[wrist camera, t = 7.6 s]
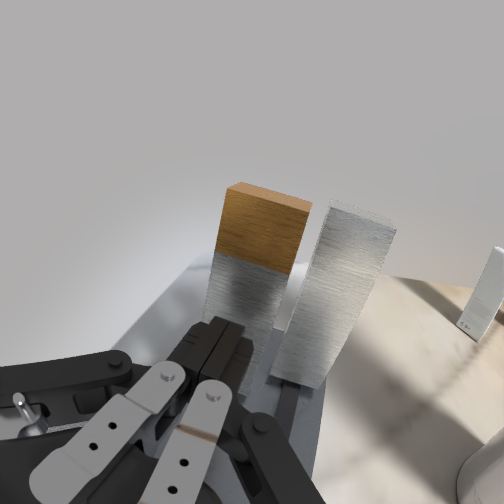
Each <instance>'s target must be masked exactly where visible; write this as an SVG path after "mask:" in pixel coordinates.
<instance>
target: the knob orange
mask: <svg viewBox="0 0 504 504" xmlns="http://www.w3.org/2000/svg"><path fill="white" fill-rule="evenodd" d="M311 205H312V202H308V201H305V200H302V199H299V198H296V197H292V196H289V195H285V194H282V193H279V192H275V191H271V190H268V189H265V188H261V187H257V186H254V185H251V184H247V183H243V182H240V183H237V184H235V185H233V186H231V187H229V188H227V191H226V196H225V201H224V206H223V211H222V216H221V221H220V226H219V231H218V236H217V242H216V247H215V252H214V257H213V263H212V268H211V274H210V279H209V285H208V291H207V296H206V302H205V308H204V314H203V320H202V322H204V323H206V324H209V323H210V322H211V320H212V319H213V317H214V316H215V315H216V316H219V317H221V318H224V319H227V320H229V321H230V322H231V321H232V322H235V323H238V324H240V325H243V326H246V330H245V333H244V338H247V339H249V340H252V341H253V345H254V352H253V355H252V358H251V361H250V364H249V367H248V369H247V372H246V374H245V377H244V379H243V381H242V384H241V386H240V388H239V391H238V393H240V394H242V395H245V396H247V395H248V392H249V389H250V387H251V384H252V382H253V379H254V376H255V374H256V371H257V368H258V366H259V363H260V360H261V357H262V355H263V352H264V349H265V346H266V344H267V341H268V338H269V335H270V332H271V329H272V327H273V324H274V321H275V318H276V315H277V312H278V309H279V306H280V303H281V300H282V297H283V294H284V291H285V288H286V285H287V282H288V279H289V276H290V273H291V270H292V267H293V264H294V261H295V258H296V254H297V251H298V248H299V245H300V242H301V239H302V235H303V232H304V229H305V226H306V222H307V219H308V216H309V212H310V209H311Z"/></svg>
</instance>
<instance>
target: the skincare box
mask: <svg viewBox="0 0 504 504" xmlns="http://www.w3.org/2000/svg"><path fill="white" fill-rule="evenodd" d="M503 300H504V249H502V248H500V247H494V248H493V250H492V252H491V255H490V257H489V260H488V262H487V264H486V266H485V269H484V271H483V273H482V275H481V277H480V279H479V282H478V284H477V286H476V288H475V290H474V292H473V294H472V296H471V298H470V300H469V301H468V303H467V305H466V307H465V309H464V311H463V313H462V314H461V316H460V318H459V320H458V321H457V323H456V325H457V326H458V327H459V328H461V329H462V330H463V331H465V332H466V333H467V334H468V335H469V336H470V337H471V338H473V339H474V340H475V341H476V342H479V341H480V340H481V338H482V336H483V335H484V333H485V332H486V331H487V329H488V327H489V326H490V324H491V322H492V321H493V319H494V317H495V315H496V313H497V312H498V310H499V308H500V306H501V304H502V302H503Z"/></svg>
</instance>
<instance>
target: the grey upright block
mask: <svg viewBox="0 0 504 504" xmlns="http://www.w3.org/2000/svg"><path fill="white" fill-rule="evenodd" d="M396 230H397V229H396V228H395V227H394V225H393V223H392V222H391V220H390V219H387V218H385V217H382V216H379V215H376V214H374V213H371V212H368V211H365V210H363V209H360V208H357V207H354V206H351V205H348V204H345V203H342V202H339V201H336V200H333V199H331V200H330V203H329V206H328V210H327V213H326V216H325V219H324V222H323V225H322V228H321V232H320V234H319V237H318V240H317V243H316V247H315V250H314V252H313V255H312V258H311V261H310V264H309V267H308V270H307V273H306V275H305V278H304V281H303V284H302V287H301V290H300V292H299V295H298V298H297V301H296V303H295V306H294V309H293V311H292V314H291V317H290V319H289V322H288V325H287V327H286V330H285V332H284V335H283V338H282V340H281V343H280V345H279V348H278V350H277V353H276V355H275V358H274V361H273V364H272V368H271V371H270V374H269V375H272V376H275V377H278V378H281V379H284V380H288V381H291V382H294V383H297V384H301V385H304V386H308V387H311V388H315V389H319V387H320V386H321V384H322V382H323V381H324V379H325V377H326V376H327V374H328V372H329V370H330V369H331V367H332V365H333V363H334V362H335V360H336V358H337V356H338V355H339V353H340V351H341V349H342V347H343V346H344V344H345V342H346V340H347V338H348V336H349V334H350V332H351V330H352V329H353V327H354V325H355V323H356V321H357V319H358V317H359V315H360V313H361V311H362V309H363V307H364V305H365V302H366V300H367V298H368V296H369V294H370V292H371V290H372V288H373V285H374V283H375V281H376V279H377V276H378V274H379V271H380V270H381V267H382V265H383V263H384V260H385V258H386V255H387V253H388V251H389V248H390V246H391V243H392V241H393V238H394V236H395V233H396Z"/></svg>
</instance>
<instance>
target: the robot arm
mask: <svg viewBox="0 0 504 504" xmlns="http://www.w3.org/2000/svg"><path fill="white" fill-rule="evenodd" d="M245 330H246V326H243V325H240V324H238V323H235V322H232V321H231V322H230V321H229V320H227V319H224V318H221V317H219V316H216V315H215V316H214V317H213V319H212V320H211V322H210V323H209V324H206V323H204V322H199V323H197V324H195V325H193V326H192V327H191V328H190V329H189V331H188V332H187V334H186V335H185V336H184V337H183V339H182V340H181V341H180V343H179V344H178V345H177V346H176V348H175V349H174V350H173V352H172V353H171V354H170V356H169V357H168V358H167V359H166V361H160V362H157V363H156V364H154V365H153V366H143V365H139V364H134V363H132V361H131V358H130V357H129V356H128V355H127V354H126V353H125V352H122V351H119V350H110V351H104V352H99V353H93V354H88V355H82V356H76V357H70V358H64V359H57V360H50V361H44V362H37V363H29V364H22V365H13V366H4V367H0V504H222V502H221V500H220V498H219V496H218V495H217V494H216V492H215V491H214V490H213V489H212V488H211V487H210V486H209V485H208V484H206V483H205V482H204V479H205V476H206V473H207V470H208V467H209V465H210V462H211V459H212V456H213V453H214V450H215V447H216V446H218V447H219V448H220V449H222V450H223V451H224V452H226V453H227V454H228V455H229V458H230V461H231V463H232V465H233V468H234V470H235V472H236V474H237V477H238V479H239V481H240V483H241V485H242V487H243V490H244V492H245V494H246V496H247V498H248V500H249V502H250V504H326V503H325V502H324V500H323V498H322V497H321V495H320V494H319V492H318V490H317V489H316V487H315V486H314V484H313V482H312V481H311V479H310V477H309V476H308V474H307V472H306V471H305V469H304V467H303V466H302V464H301V462H300V461H299V459H298V457H297V455H296V454H295V452H294V450H293V448H292V447H291V445H290V443H289V441H288V440H287V438H286V436H285V434H284V433H283V431H282V429H281V427H280V425H279V424H278V422H277V421H276V419H275V418H273V417H272V416H271V415H269V414H266V413H263V412H254V413H251V412H250V411H248V410H247V409H245V408H244V407H243V406H242V405H241V404H240V403H239V401H238V399H237V393H238V391H239V388H240V386H241V384H242V381H243V379H244V377H245V374H246V372H247V369H248V367H249V364H250V361H251V358H252V355H253V352H254V345H253V341H252V340H249V339H247V338H244V333H245ZM186 403H189V405H188V407H187V409H186V411H185V413H184V416H183V418H182V420H181V422H180V424H179V425H177V426H176V427H175V428H174V430H173V432H172V434H171V436H170V438H169V440H168V443H167V445H166V447H165V449H164V451H163V453H162V455H161V457H160V459H157V458H154V456H155V454H156V451H157V448H158V446H159V445H160V443H161V442H162V441H163V439H164V438H165V436H166V435H167V434H168V432H169V431H170V430H171V428H172V427H173V426H174V424H175V423H176V422H177V420H178V419H179V417H180V416H181V413H182V410H183V409H184V407H185V405H186ZM88 420H90V421H89V422H88V423H87V424H86V425H85V426H84V427H77V428H72V429H67V430H62V431H57V432H52V433H46V431H47V429H48V427H54V426H61V425H67V424H72V423H78V422H83V421H88ZM457 496H458V501H459V504H504V427H503V428H502V429H501V430H500V431H499V432H498V433H497V434H496V435H495V436H494V437H493V438H492V439H490V440H489V441H488V442H487V443H486V444H485V445H484V446H483V447H481V448H480V449H479V450H478V451H477V452H476V453H474V454H473V455H472V456H471V457H469V458H468V459H467V460H466V461H465V463H464V464H463V466H462V467H461V469H460V472H459V475H458V480H457Z"/></svg>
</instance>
